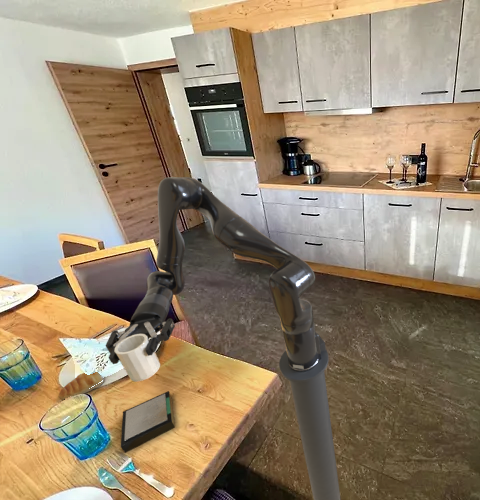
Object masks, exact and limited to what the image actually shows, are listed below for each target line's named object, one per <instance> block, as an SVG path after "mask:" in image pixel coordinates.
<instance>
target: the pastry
mask: <svg viewBox="0 0 480 500" xmlns="http://www.w3.org/2000/svg"><path fill="white" fill-rule="evenodd" d="M102 380H103V382H101V381H102ZM99 382H101V383H99ZM98 383H99V384H98ZM104 383H105V379H104V377H103V376H102V375H100V374H99V373H98V372H95V373H93V374H90V375H87V374H85V373H84V372H83V373H80V374H78V375H77V376H76V377H75V378H74V379H72V380H71V381H70V382H68V383H67V384H65V385H64V387H62V388H61V389H60V390H59V393H58V399H61V400H64V399H65V398H68V397H70V396H74V395H77V394H82V395H84V394H86V393H89V392H91V391H92V390H94V389H97V388H99V387H100V386H101V385H103V384H104ZM96 384H97V385H96ZM94 385H95V386H94ZM92 386H94V387H92ZM91 387H92V388H91ZM89 388H90V389H89Z"/></svg>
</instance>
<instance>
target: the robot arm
mask: <svg viewBox="0 0 480 500" xmlns="http://www.w3.org/2000/svg"><path fill="white" fill-rule="evenodd" d="M183 210H195V211H197V212H199V213H200V214H201V215H203V216H204V217H205V218H207V220H208V221H209V225H210V228H211V232H212V234H213V237H214V238H215V239H216V240H217V241H218V242H219V244H221V245H222V246H224V247H225V248H226V249H227V250H228V251H230V252H231V253H233V254H234V255H236V256H240V257H242V258H247V259H251V260H256V261H260V262H263V263H266V264H268V265H270V266H273V267H274V268H275V270H274V271H273V272H272V273H270V275H269V278H268V288H269V292H270V296H271V299H272V302H273V306H274V309H275V312H276V314H277V315H278V317H279V321H280V326H281V330H282V335H283V341H284V346H285V351H287V356H288V363H289V366H290V367H291V369H293V370H295V371H298V372H304V371H308V370H310V369H312V368H313V367H315V366H316V365H317V363H318V361H319V360H321V359H322V358H321V352H322V351H324V350H327V349H326V342H325V341H324V339H323V338H321V336H320V335H319V333H317V332H316V326H315V325H316V324H315V319H314V318H315V317H314V312H313V305H312V304H311V302H310V301H308V300H307V299H304V298H300V297H301V296H302V295H304V293H306V292H307V291H309V289H310V288H311V287H312V286H313V285H314V284H315V282H316V275H315V272H314V270H313V269H312V267H311V266H310V265H309V264H308V263H307V262H306V261H305V260H303V259H301V258H300V257H298V256H297V255H295V254H294V253H292V252H290V251H289V250H287V249H285V248H284V247H282V246H280V245H279V244H278V243H276V242H275V241H273V239H271V238H270V237H268V236H267V235H265V234H264V233H262V232H261V231H259V229H257V228H256V227H255V226H254V225H252V224H251V223H250V222H249V221H247V220H246V219H245V218H243V217H242V216H240V215H239V214H238V213H236V212H235V211H234V210H232V209H231V208H230V207H229V206H227V204H225V203H224V202H223V201H222V200H220V199H219V198H218V197H217V196H216V195H215V194H214V193H213V192H212V191H211V190H210V189H208V187H206V186H205V185H204V184H203V183H202V182H201V181H200V180H199V179H197V178H193V177H187V176H186V177H185V176H184V177H183V176H182V177H181V176H180V177H179V176H170V177H165V178H163V179H161V180H160V182H159V184H158V188H157V211H158V212H157V217H158V230H159V239H158V240H159V241H158V247H157V255H156V261H155V262H156V267H157V268H158V269H160V270H161V271H160V270H155V271H153V272H151V273H149V274H148V276H147V279H146V293H145V295H144V297H143V299H142V300H141V301H140V302H139V304H138V305H137V307H136V309H135V311H134V313H133V315H132V316H131V319H130V321H129V325H128V326H127V327H126V328H125V330H121V331H118V329H115V330H113V331H111V333H110V335H109V337H108V340H107V341H106V344H105V348H106V349H107V351H108V352H109V355H108V360H109V362H110V363H111V364H112V365H117V364H118V363H119V362H120V360H119V359H118V357H117V355H116V353H115V352H114V350H115V347H116V346H117V344H118V343H120V342H121V341H122V340H124V339H125V338H127V337H129V336H132V335H135V334H145V335H146V336H147V337H148V339H149V342H148V344H147V347H146V352H147V354H148V356H150V355H152V354H153V352H155V353H156V352H157V349H158V346H159V345H160V344H161V342H168V341H169V340H170V338H171V335H172V333H173V331H174V329H175V327H176V325H175V322H174V320H173V319H172V318H167V317H168V315H169V312H170V307H171V304H172V302H173V299H174V296H176V295H179V294H180V293H182V292H183V291H184V289H185V277H184V272H183V262H184V261H183V260H184V256H185V249H186V243H185V239H184V238H183V236H182V234H181V232H180V230H179V227H178V215H179V212H180V211H183Z"/></svg>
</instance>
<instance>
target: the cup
mask: <svg viewBox="0 0 480 500" xmlns="http://www.w3.org/2000/svg"><path fill="white" fill-rule="evenodd" d="M149 340H150V338H149V339H148V337H147V336H146V335H145V334H135V335H132V336H129V337H127V338H125V339H124V340H122V341H121V342H120V343H118V344H117V346H116V347H115V350H114V352H115V353H116V355H117V357H118V359H119V362H120V364H121V366H122V367H123V369H124V371H125V372H126V375H127V376H128V378H129V379H130V381H132V382H136V383H137V382H142V381H146V380H149V378H151V377H153V376H154V375H155V374H156V373H157V372H159V369H160V368H161V362H160V359H159V357H158V355H157V353H156V351H155V352H153V354H152V355H150V356H148V354H147V352H146V347H147V344H148V342H149Z"/></svg>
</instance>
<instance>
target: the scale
mask: <svg viewBox="0 0 480 500" xmlns="http://www.w3.org/2000/svg"><path fill="white" fill-rule="evenodd" d="M121 419H122V421H121V422H122V423H121V435H120V448H121V449H122V451H123V452H124V454H126V453H128V452H130V451H132V450H134V449H135V448H138V447H140V446H141V445H142V446H143V444H146V443H148V442H150V441H151V440H153V439H155V438H157V437H159V436H161V435H163V434H165V433H167V432H169V431H171V430H173V429H175V428H176V424H175V423H176V422H175V415H174V404H173V396H172V394H171V392H170V391H169V390H168V391H167V390H166V391H165V392H163V393H161V394H159V395H156V396H154V397H152V398H150V399H148V400H145V401H143V402H140V403H139V404H137V405H134V406H132V407H129V408H127V409H125V410H123V411H122V418H121Z"/></svg>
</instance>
